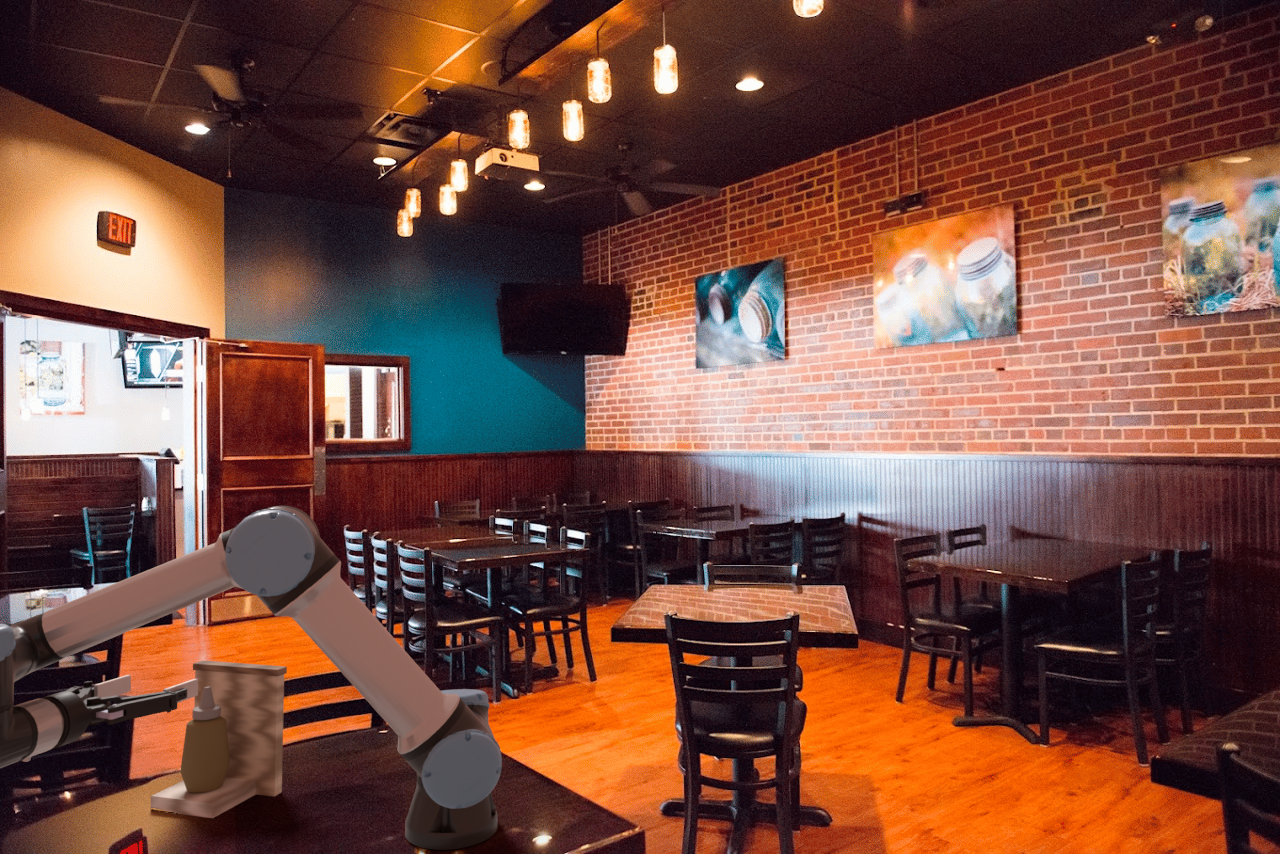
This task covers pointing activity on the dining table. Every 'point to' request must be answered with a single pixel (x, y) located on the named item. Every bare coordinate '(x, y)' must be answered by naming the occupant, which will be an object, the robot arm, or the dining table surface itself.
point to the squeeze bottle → (205, 747)
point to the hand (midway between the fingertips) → (162, 684)
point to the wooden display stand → (238, 737)
